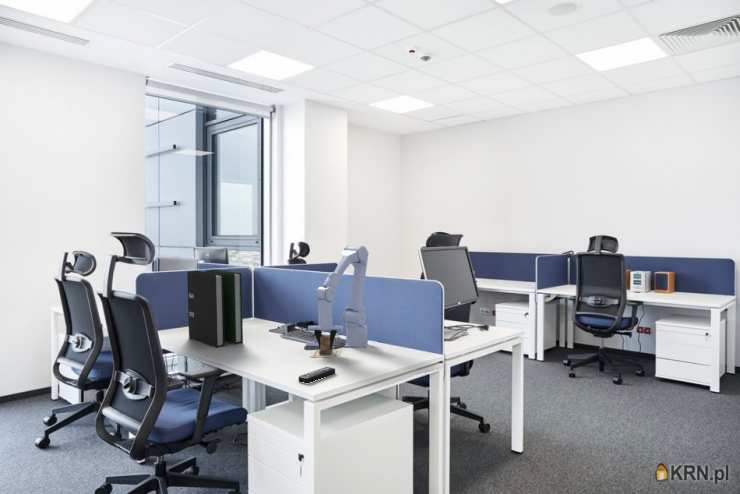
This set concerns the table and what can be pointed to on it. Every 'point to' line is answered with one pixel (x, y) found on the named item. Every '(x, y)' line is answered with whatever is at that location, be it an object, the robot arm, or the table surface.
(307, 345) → the pad
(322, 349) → the stamp
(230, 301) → the binders
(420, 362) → the table surface
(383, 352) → the table surface
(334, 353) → the card
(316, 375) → the multiport hub
